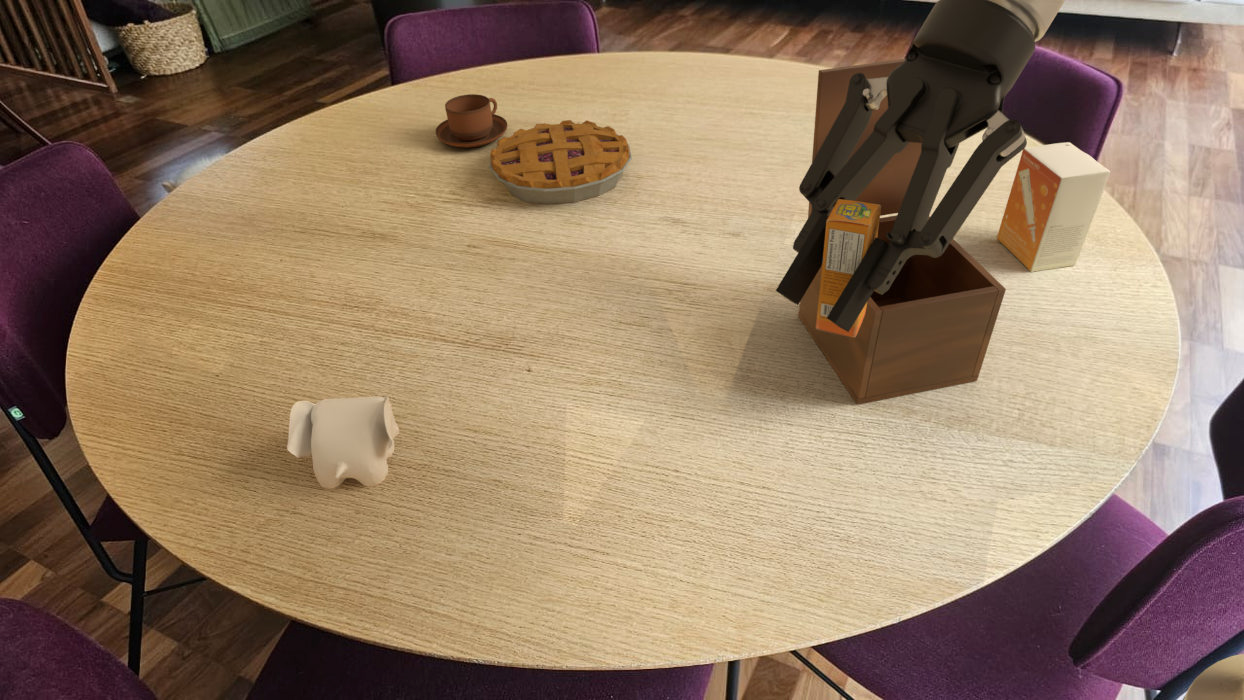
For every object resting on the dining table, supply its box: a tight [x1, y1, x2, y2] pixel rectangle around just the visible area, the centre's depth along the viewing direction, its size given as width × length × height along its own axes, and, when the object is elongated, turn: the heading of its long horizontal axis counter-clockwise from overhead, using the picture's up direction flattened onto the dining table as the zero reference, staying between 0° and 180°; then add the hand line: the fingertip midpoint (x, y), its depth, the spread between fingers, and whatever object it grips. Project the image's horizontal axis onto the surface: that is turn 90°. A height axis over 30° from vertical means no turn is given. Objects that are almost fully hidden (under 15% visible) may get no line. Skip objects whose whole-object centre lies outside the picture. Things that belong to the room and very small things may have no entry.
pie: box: [488, 119, 633, 205], centre depth 123 cm, size 22×22×5 cm
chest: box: [797, 214, 1007, 405], centre depth 86 cm, size 16×14×12 cm
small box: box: [996, 141, 1111, 273], centre depth 99 cm, size 8×6×13 cm
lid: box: [807, 58, 922, 219], centre depth 86 cm, size 16×14×6 cm
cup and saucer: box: [435, 93, 508, 148], centre depth 135 cm, size 12×12×6 cm
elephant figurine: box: [286, 395, 400, 490], centre depth 77 cm, size 10×12×9 cm
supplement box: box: [816, 199, 881, 337], centre depth 60 cm, size 3×3×10 cm
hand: (812, 310), depth 59 cm, fingers closed on supplement box, 4 cm apart
